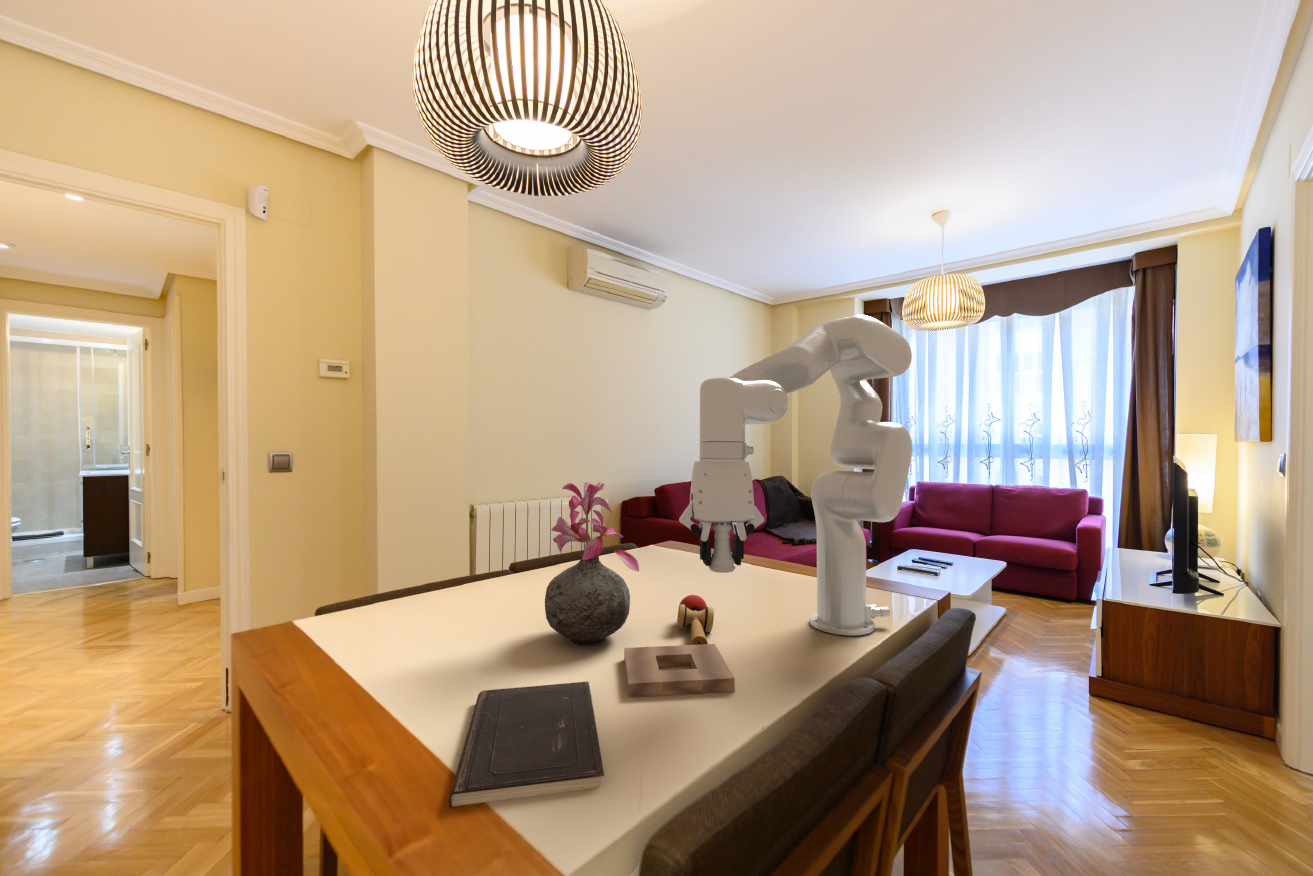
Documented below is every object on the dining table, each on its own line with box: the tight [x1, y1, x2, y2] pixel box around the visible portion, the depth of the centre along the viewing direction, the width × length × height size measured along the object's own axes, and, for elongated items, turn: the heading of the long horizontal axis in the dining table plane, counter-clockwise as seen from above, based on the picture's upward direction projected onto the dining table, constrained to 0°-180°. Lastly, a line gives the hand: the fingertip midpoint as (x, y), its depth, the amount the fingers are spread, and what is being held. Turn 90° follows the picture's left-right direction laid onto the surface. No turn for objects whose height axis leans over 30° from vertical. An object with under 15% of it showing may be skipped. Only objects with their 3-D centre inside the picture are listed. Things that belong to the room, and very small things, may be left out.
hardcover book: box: [448, 681, 605, 809], centre depth 68 cm, size 16×23×2 cm
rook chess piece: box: [708, 522, 736, 574], centre depth 89 cm, size 4×4×8 cm
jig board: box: [623, 643, 736, 698], centre depth 88 cm, size 16×14×2 cm
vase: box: [544, 481, 640, 646], centre depth 104 cm, size 17×17×30 cm
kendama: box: [676, 594, 715, 645], centre depth 106 cm, size 8×6×18 cm
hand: (721, 562), depth 89 cm, fingers closed on rook chess piece, 4 cm apart
